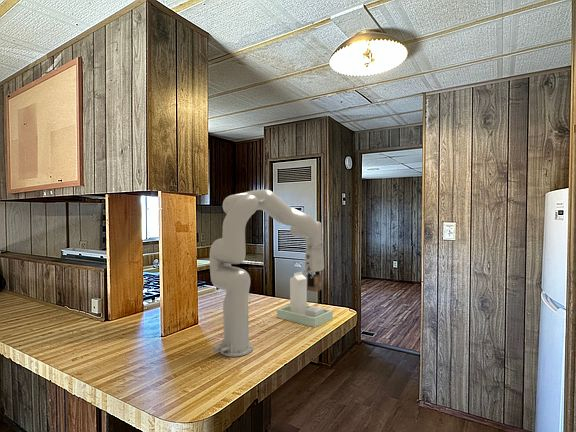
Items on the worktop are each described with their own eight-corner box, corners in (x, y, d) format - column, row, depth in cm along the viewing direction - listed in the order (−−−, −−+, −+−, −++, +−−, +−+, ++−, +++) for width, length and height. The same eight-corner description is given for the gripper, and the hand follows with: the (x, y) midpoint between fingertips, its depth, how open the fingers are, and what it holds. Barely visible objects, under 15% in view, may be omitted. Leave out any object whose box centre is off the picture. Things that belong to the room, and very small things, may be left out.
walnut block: (315, 291, 156) (315, 276, 156) (307, 290, 159) (307, 275, 159) (321, 289, 159) (321, 275, 159) (313, 288, 163) (313, 273, 163)
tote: (314, 327, 151) (314, 318, 151) (277, 317, 166) (276, 309, 166) (332, 318, 162) (332, 310, 162) (295, 310, 177) (295, 302, 177)
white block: (315, 324, 155) (315, 311, 155) (305, 321, 159) (305, 309, 159) (324, 320, 160) (324, 308, 160) (313, 318, 164) (313, 306, 164)
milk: (307, 315, 168) (306, 272, 167) (298, 318, 163) (298, 273, 163) (298, 313, 172) (298, 270, 172) (290, 315, 168) (289, 272, 167)
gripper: (309, 249, 150) (310, 289, 150) (330, 246, 163) (330, 283, 163) (296, 248, 155) (297, 287, 155) (317, 245, 168) (318, 281, 168)
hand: (314, 284), depth 159 cm, fingers closed on walnut block, 4 cm apart
